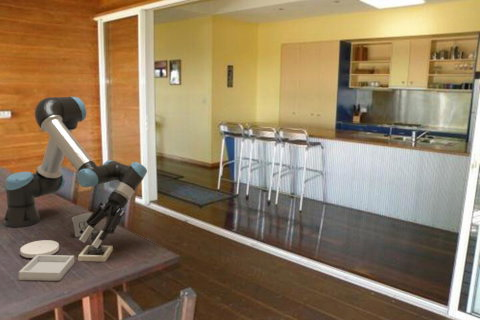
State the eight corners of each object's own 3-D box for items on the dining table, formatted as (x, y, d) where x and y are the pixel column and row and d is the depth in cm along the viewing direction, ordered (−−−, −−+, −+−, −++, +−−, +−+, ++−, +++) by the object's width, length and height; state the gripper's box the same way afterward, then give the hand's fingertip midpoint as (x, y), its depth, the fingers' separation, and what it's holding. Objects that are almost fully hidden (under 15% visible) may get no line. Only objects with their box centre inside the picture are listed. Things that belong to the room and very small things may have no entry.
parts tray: (37, 262, 157) (37, 254, 156) (74, 262, 157) (74, 255, 157) (19, 279, 143) (18, 272, 143) (59, 280, 144) (59, 272, 143)
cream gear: (22, 248, 169) (22, 242, 169) (59, 244, 175) (59, 238, 174) (18, 262, 157) (18, 256, 156) (58, 257, 162) (58, 251, 161)
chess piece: (90, 252, 167) (89, 224, 165) (105, 252, 168) (104, 224, 165) (86, 258, 161) (85, 229, 159) (101, 258, 162) (100, 230, 160)
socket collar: (87, 249, 169) (87, 245, 169) (112, 250, 170) (112, 245, 169) (78, 260, 159) (78, 256, 159) (105, 261, 160) (105, 256, 159)
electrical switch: (76, 238, 181) (74, 217, 179) (70, 236, 184) (68, 216, 182) (95, 232, 188) (93, 213, 186) (89, 230, 191) (87, 211, 190)
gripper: (142, 205, 167) (110, 255, 157) (110, 195, 179) (78, 241, 169) (131, 195, 162) (97, 246, 152) (99, 186, 173) (66, 232, 164)
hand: (88, 243), depth 161 cm, fingers open, 8 cm apart
